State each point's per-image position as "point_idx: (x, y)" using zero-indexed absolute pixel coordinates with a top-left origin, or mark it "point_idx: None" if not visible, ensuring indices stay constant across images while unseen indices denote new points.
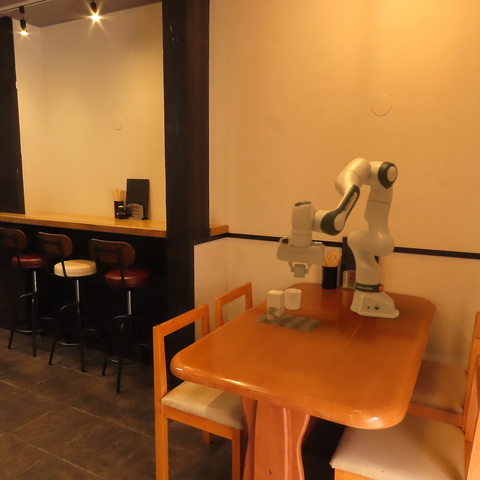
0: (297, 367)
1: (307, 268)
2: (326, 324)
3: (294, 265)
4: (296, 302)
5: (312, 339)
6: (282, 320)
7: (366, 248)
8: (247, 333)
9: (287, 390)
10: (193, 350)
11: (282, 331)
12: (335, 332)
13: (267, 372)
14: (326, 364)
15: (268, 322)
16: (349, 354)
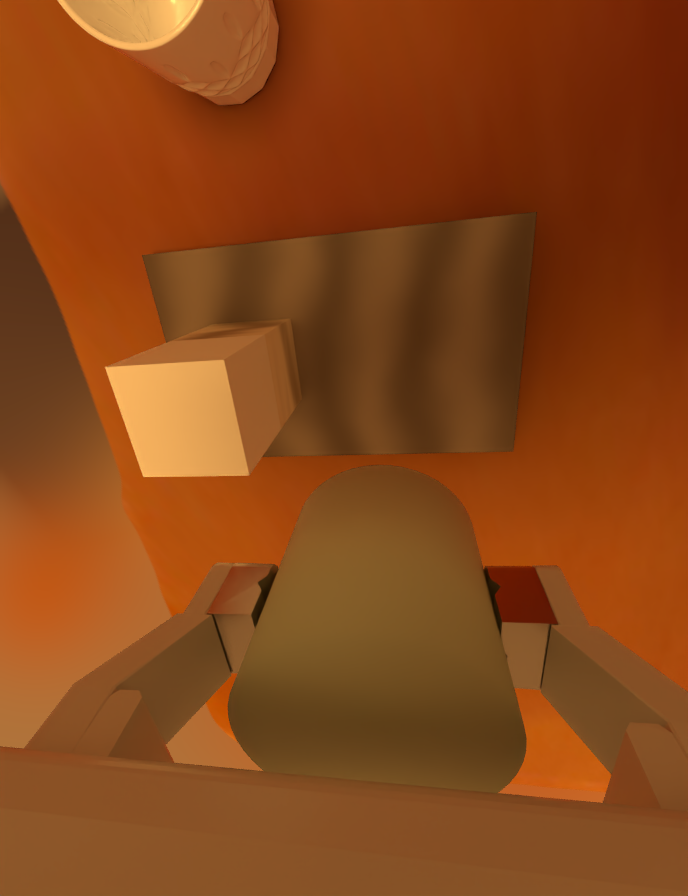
0: (532, 691)
1: (581, 730)
2: (561, 203)
3: (277, 768)
4: (245, 37)
5: (527, 482)
6: (307, 370)
7: None
8: (254, 546)
9: (540, 775)
10: (220, 698)
11: (362, 461)
12: (639, 324)
13: None
14: None
15: None
16: None
